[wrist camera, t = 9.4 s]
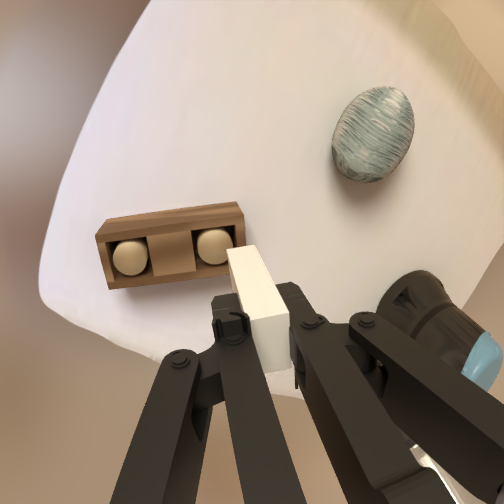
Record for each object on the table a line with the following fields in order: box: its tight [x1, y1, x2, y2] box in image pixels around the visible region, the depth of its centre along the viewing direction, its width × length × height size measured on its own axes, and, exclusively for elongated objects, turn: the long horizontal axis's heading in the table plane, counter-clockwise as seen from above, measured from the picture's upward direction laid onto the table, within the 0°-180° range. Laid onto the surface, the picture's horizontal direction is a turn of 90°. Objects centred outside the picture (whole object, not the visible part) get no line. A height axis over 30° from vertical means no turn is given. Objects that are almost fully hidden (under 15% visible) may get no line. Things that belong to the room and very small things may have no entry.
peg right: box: [196, 226, 233, 264], centre depth 38 cm, size 4×4×5 cm
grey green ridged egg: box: [332, 87, 414, 183], centre depth 37 cm, size 14×10×10 cm
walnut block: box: [95, 202, 246, 290], centre depth 38 cm, size 7×17×6 cm, turn 94°
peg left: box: [113, 236, 149, 275], centre depth 37 cm, size 4×4×5 cm
